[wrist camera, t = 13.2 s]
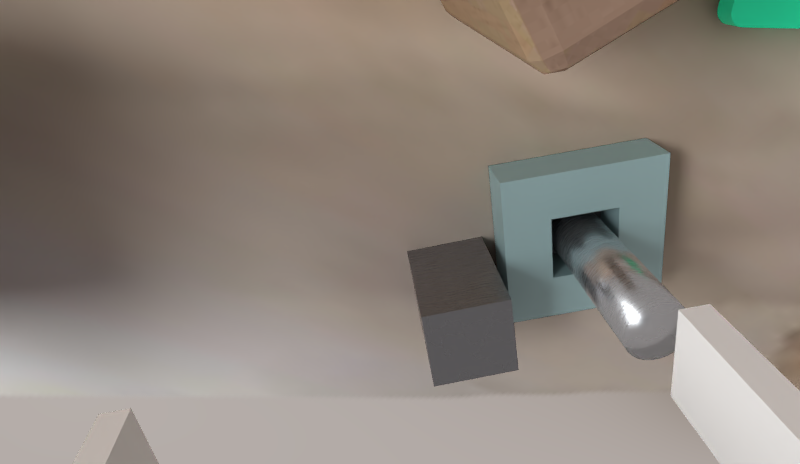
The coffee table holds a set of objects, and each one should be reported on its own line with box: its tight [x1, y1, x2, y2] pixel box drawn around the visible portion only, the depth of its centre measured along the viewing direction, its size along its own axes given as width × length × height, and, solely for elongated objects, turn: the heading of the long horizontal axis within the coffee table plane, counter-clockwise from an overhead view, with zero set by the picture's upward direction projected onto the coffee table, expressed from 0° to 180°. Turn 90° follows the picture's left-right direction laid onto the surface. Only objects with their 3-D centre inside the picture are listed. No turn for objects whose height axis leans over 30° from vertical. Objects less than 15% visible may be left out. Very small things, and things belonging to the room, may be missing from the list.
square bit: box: [407, 237, 518, 386], centre depth 42 cm, size 6×6×9 cm
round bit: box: [551, 212, 685, 360], centre depth 38 cm, size 4×4×14 cm
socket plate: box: [488, 138, 670, 322], centre depth 43 cm, size 12×12×4 cm
